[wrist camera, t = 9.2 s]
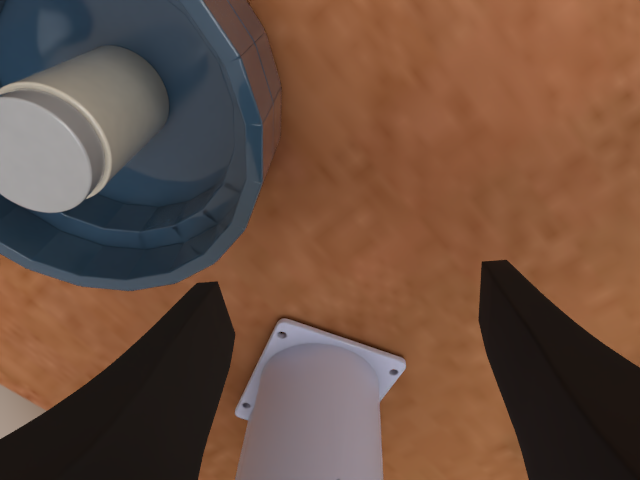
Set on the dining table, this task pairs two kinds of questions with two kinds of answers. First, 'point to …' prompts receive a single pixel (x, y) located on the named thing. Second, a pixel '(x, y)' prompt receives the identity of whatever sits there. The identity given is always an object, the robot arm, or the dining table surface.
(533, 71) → the dining table surface
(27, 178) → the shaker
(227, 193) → the bowl
